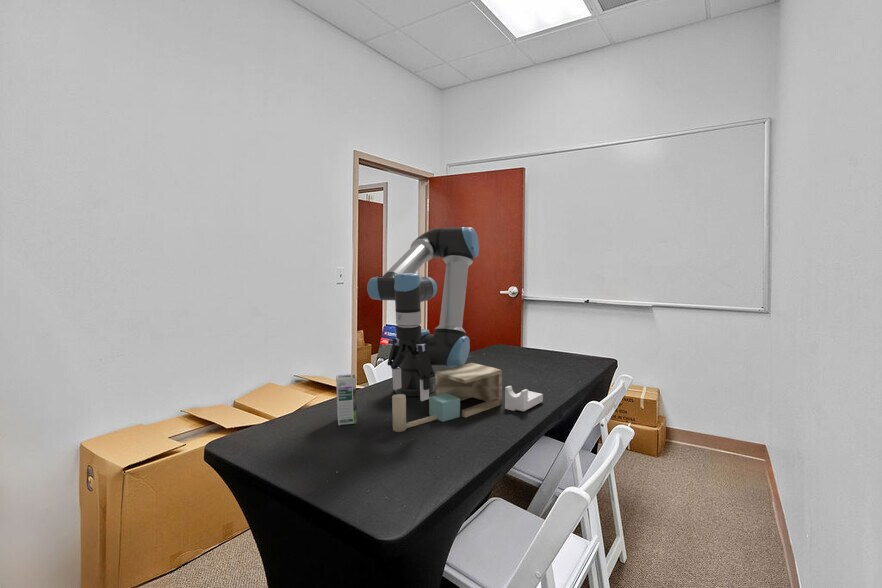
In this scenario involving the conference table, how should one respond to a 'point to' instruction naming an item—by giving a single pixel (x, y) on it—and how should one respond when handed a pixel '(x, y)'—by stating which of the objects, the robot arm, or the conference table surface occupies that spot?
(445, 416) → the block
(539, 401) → the bracket
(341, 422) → the syrup box
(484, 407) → the wooden frame
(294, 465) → the conference table surface
